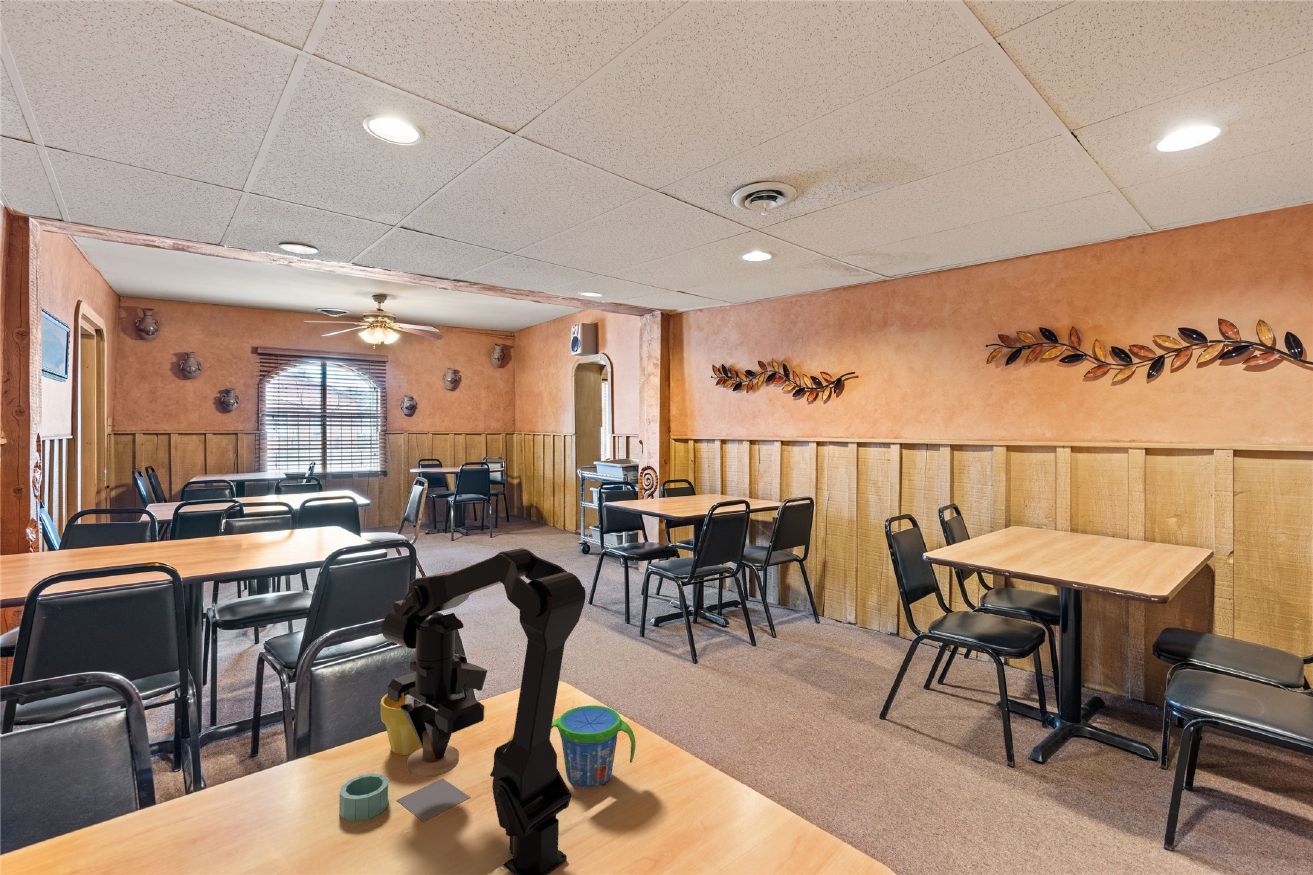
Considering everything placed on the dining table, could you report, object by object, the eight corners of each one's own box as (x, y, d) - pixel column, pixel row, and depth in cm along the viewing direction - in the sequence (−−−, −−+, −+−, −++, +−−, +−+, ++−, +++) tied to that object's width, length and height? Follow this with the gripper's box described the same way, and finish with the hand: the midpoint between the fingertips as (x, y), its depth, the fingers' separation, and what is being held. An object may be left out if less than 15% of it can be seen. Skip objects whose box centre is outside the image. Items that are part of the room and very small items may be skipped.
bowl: (395, 810, 93) (396, 784, 93) (351, 831, 88) (352, 804, 88) (375, 793, 98) (375, 768, 98) (332, 813, 93) (332, 786, 93)
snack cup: (532, 789, 100) (533, 727, 100) (556, 756, 110) (557, 700, 110) (625, 803, 96) (626, 739, 96) (641, 768, 107) (642, 710, 107)
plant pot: (373, 767, 105) (373, 710, 105) (387, 737, 116) (388, 686, 115) (436, 761, 107) (437, 706, 107) (444, 733, 118) (445, 682, 117)
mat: (470, 802, 96) (470, 797, 96) (423, 827, 90) (423, 821, 90) (442, 783, 101) (442, 778, 101) (396, 805, 95) (396, 800, 95)
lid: (468, 762, 96) (469, 730, 96) (423, 783, 90) (424, 749, 90) (442, 745, 101) (442, 715, 101) (397, 764, 95) (398, 732, 95)
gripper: (514, 655, 96) (512, 754, 96) (448, 629, 107) (447, 717, 108) (450, 676, 87) (448, 785, 87) (386, 645, 99) (385, 741, 99)
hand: (433, 754), depth 95 cm, fingers closed on lid, 3 cm apart
